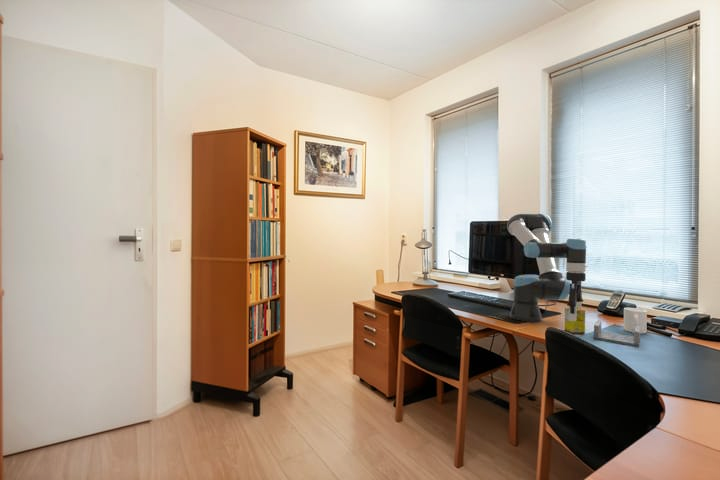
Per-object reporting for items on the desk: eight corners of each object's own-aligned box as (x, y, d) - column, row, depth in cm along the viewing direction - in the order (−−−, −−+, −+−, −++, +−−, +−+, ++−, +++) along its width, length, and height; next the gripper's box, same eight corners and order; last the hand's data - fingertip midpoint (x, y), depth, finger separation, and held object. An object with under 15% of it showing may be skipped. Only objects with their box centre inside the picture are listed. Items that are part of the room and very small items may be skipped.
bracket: (593, 338, 144) (594, 325, 144) (597, 332, 153) (597, 319, 153) (638, 346, 134) (639, 332, 134) (639, 339, 143) (640, 326, 143)
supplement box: (585, 334, 151) (585, 310, 151) (571, 334, 151) (572, 310, 151) (576, 330, 157) (577, 307, 157) (564, 330, 157) (564, 307, 157)
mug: (647, 337, 147) (648, 314, 147) (623, 333, 152) (624, 311, 152) (645, 331, 157) (646, 309, 156) (623, 327, 162) (623, 306, 161)
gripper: (581, 274, 142) (580, 324, 142) (589, 270, 160) (588, 314, 160) (560, 273, 146) (560, 321, 147) (571, 269, 165) (570, 312, 165)
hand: (575, 318), depth 153 cm, fingers open, 13 cm apart
